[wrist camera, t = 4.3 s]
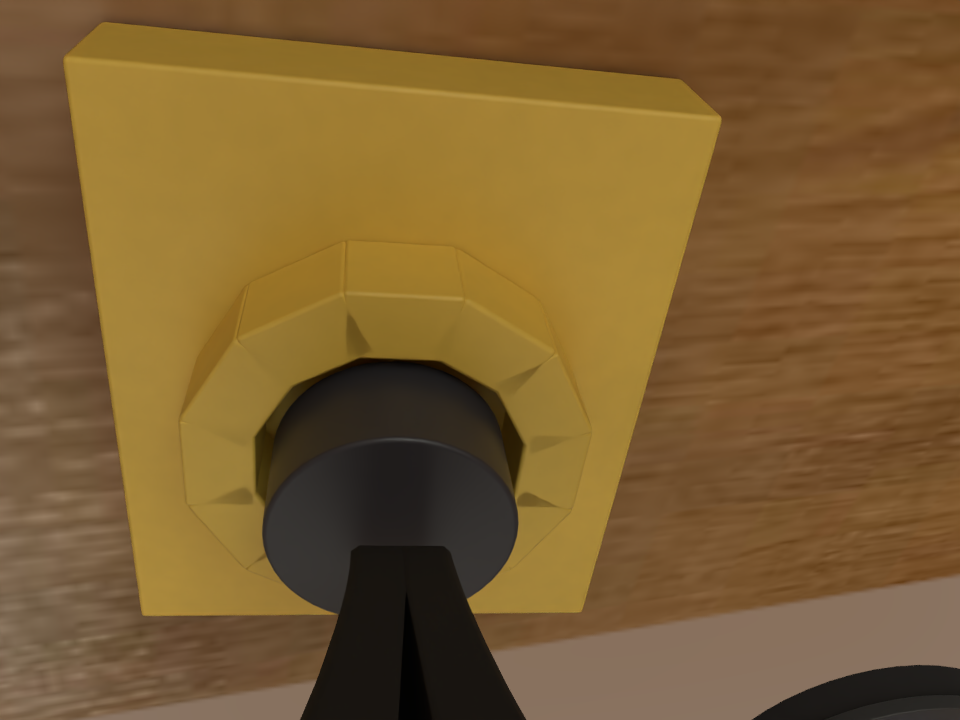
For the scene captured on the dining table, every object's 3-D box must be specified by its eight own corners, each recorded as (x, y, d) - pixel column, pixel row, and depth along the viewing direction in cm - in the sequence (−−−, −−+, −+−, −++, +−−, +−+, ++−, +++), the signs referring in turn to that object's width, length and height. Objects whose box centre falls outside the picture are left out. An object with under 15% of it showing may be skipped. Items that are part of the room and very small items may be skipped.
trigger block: (564, 545, 22) (599, 679, 19) (160, 543, 20) (121, 690, 17) (682, 78, 15) (769, 158, 12) (100, 20, 14) (16, 93, 10)
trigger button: (486, 535, 16) (500, 621, 15) (274, 533, 16) (262, 624, 14) (517, 364, 14) (538, 442, 12) (271, 354, 14) (258, 435, 12)
